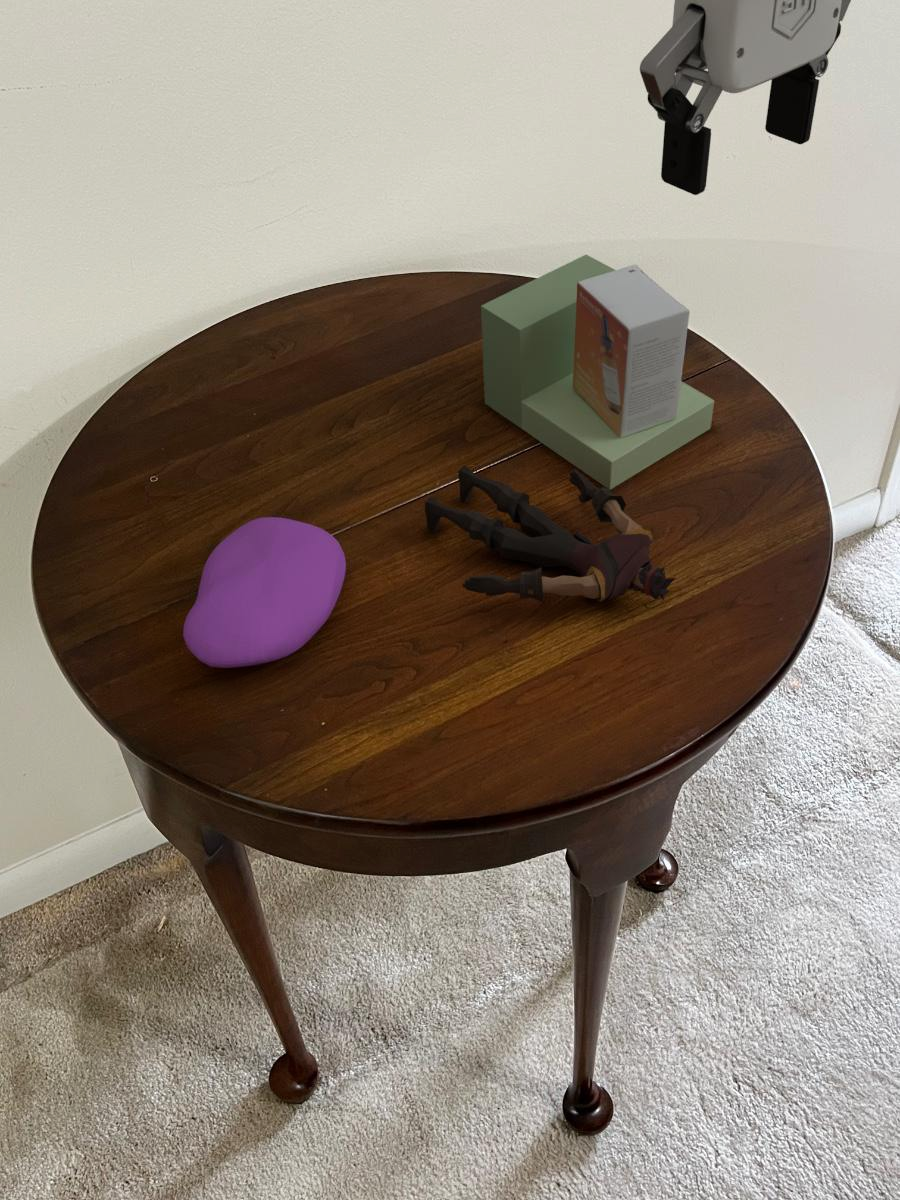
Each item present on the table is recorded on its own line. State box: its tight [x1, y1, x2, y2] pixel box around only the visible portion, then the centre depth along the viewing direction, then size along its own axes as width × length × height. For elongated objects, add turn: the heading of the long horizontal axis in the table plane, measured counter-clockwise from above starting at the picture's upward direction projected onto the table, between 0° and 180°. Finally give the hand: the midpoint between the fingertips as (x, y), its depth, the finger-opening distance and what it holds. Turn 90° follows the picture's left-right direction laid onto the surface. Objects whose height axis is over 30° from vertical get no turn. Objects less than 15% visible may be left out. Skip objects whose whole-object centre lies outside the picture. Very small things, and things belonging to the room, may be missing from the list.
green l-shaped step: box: [480, 254, 715, 491], centre depth 95 cm, size 16×12×10 cm
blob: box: [182, 516, 347, 669], centre depth 82 cm, size 14×11×5 cm
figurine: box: [424, 465, 676, 604], centre depth 85 cm, size 15×4×20 cm
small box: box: [573, 264, 691, 438], centre depth 91 cm, size 8×6×10 cm
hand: (735, 161), depth 72 cm, fingers open, 9 cm apart
